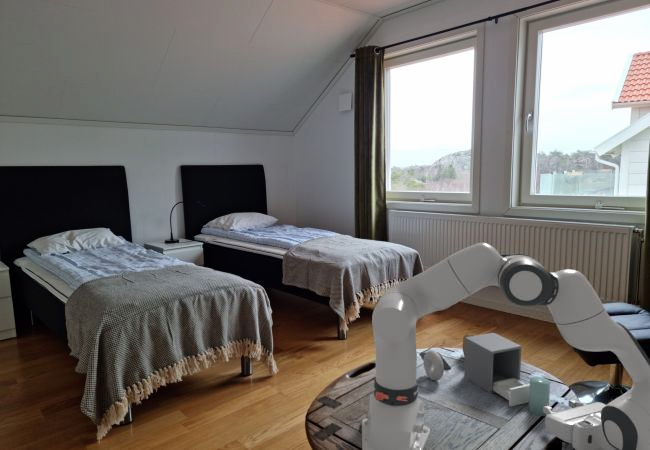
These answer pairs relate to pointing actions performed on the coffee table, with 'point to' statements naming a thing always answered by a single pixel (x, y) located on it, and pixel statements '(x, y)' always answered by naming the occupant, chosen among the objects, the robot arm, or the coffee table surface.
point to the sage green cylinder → (538, 395)
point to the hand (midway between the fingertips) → (557, 405)
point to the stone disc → (464, 340)
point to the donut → (433, 365)
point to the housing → (491, 360)
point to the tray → (512, 390)
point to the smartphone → (446, 366)
